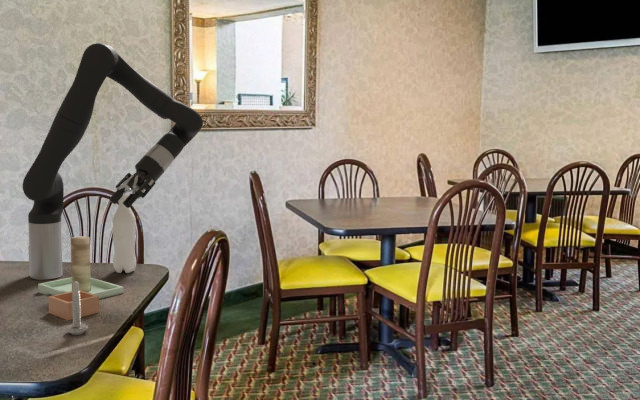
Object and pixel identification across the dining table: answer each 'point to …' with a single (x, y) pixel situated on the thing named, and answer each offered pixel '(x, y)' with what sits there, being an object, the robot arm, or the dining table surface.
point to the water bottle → (124, 238)
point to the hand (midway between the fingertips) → (118, 204)
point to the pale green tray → (65, 286)
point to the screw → (76, 313)
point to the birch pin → (81, 262)
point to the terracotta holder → (63, 304)
